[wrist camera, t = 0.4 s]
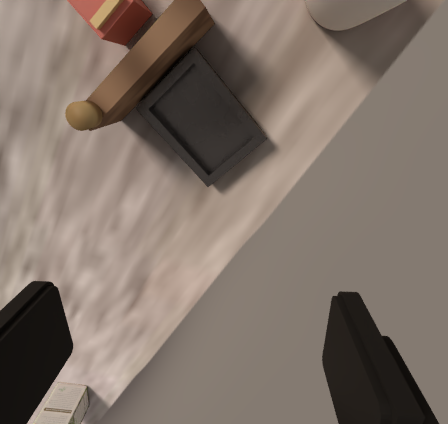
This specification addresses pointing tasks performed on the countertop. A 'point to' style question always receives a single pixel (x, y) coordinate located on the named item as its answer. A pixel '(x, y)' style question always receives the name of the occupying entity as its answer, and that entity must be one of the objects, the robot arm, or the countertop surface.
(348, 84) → the countertop surface
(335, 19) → the milk bottle
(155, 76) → the door board
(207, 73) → the tray
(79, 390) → the syrup box
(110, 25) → the red block
